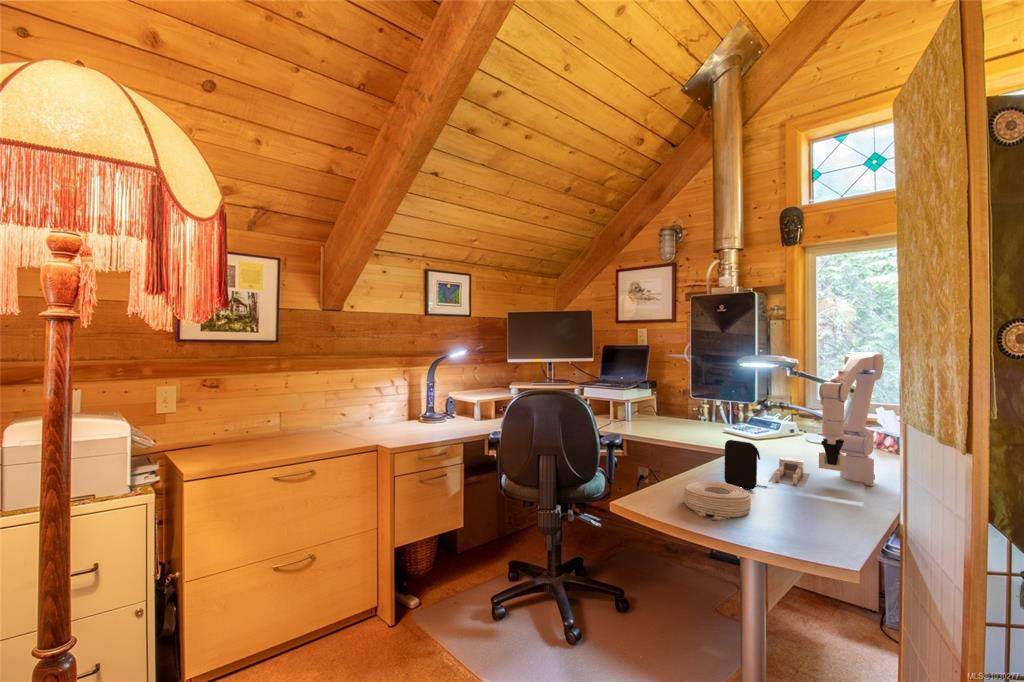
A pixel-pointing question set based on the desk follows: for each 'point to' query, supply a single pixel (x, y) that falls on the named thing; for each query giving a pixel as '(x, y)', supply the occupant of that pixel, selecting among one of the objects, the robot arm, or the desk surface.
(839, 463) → the light wooden block
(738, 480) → the carrying case or bag
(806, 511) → the desk surface
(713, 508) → the cable
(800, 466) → the tan rectangular block
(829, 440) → the robot arm
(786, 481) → the grey peg board
